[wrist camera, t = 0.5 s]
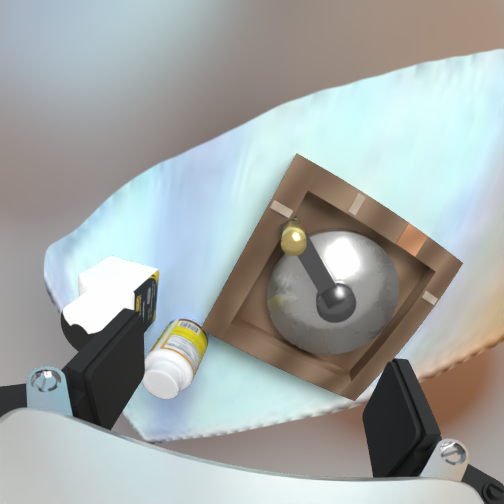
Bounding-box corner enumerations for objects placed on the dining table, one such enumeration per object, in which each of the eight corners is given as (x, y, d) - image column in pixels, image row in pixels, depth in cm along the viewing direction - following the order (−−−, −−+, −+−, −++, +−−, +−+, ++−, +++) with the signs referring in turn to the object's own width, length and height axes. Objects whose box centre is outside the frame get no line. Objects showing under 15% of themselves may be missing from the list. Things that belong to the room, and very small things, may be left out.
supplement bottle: (177, 354, 40) (148, 405, 30) (161, 318, 38) (126, 365, 29) (215, 349, 39) (193, 404, 29) (201, 312, 37) (172, 362, 27)
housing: (450, 254, 31) (463, 263, 28) (351, 385, 38) (354, 401, 35) (296, 153, 30) (296, 153, 27) (208, 315, 37) (200, 329, 34)
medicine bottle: (156, 319, 38) (111, 375, 27) (109, 303, 39) (57, 350, 27) (160, 268, 36) (108, 315, 25) (110, 254, 37) (49, 292, 25)
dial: (411, 311, 32) (433, 344, 25) (306, 363, 36) (306, 404, 29) (349, 180, 29) (365, 188, 22) (230, 249, 33) (213, 274, 26)
